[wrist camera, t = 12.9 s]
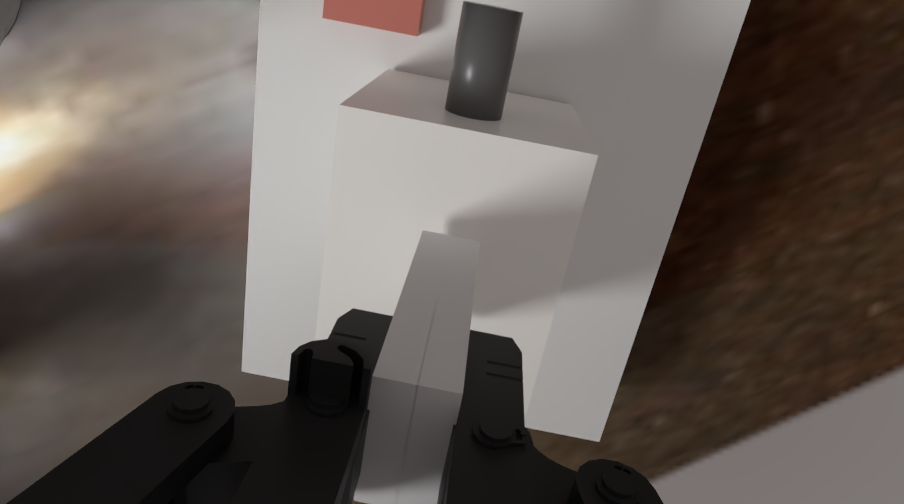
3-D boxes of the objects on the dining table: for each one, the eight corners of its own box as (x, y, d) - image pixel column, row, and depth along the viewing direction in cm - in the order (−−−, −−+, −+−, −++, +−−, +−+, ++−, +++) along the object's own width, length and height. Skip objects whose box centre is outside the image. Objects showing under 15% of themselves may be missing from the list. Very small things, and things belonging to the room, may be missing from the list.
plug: (519, 261, 29) (526, 414, 19) (380, 234, 29) (311, 372, 19) (579, 14, 25) (631, 37, 14) (416, -18, 25) (351, -17, 14)
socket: (588, 388, 31) (601, 454, 27) (272, 325, 31) (234, 381, 27) (729, -53, 23) (781, -60, 19) (305, -134, 23) (258, -161, 19)
